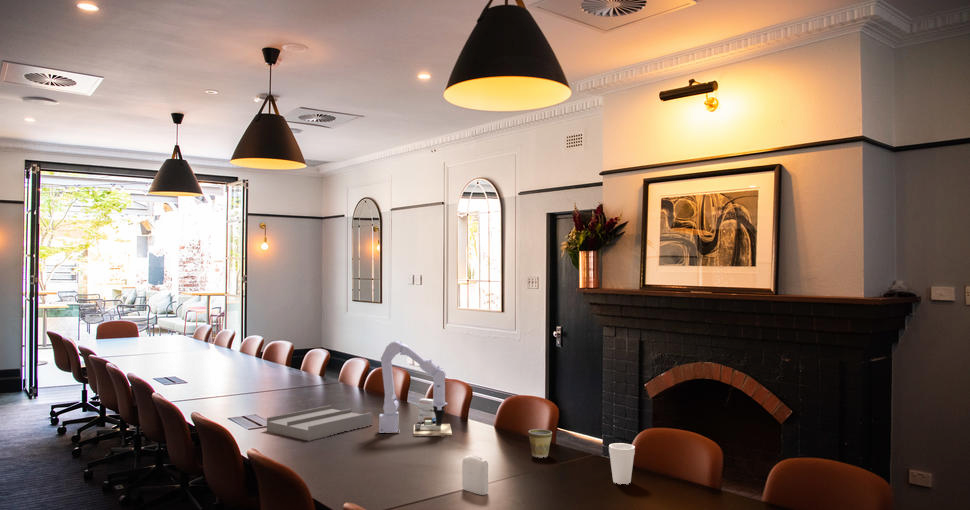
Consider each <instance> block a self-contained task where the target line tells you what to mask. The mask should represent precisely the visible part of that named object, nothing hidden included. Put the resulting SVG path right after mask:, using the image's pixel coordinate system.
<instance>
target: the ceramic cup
mask: <svg viewBox="0 0 970 510" xmlns="http://www.w3.org/2000/svg"><path fill="white" fill-rule="evenodd" d="M552 436H553V432H552V431H551V430H549V429H543V428H541V429H540V428H536V429H535V428H534V429H530V430H528V437H529V443H530V448H531V449H530V450H531V457H534V458H537V457H538V459H541V458H542V459H543V457H544V458H547V457H548V455H549V452H550V451H549V450H550V445H551V441H552Z"/></svg>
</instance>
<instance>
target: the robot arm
mask: <svg viewBox="0 0 970 510" xmlns="http://www.w3.org/2000/svg"><path fill="white" fill-rule="evenodd" d="M398 354H399V355H401V356H407V357H409V358H410V359H411V360H413V361H414V362H415V363H417V364H418V365H419V367H420V368H419V369H421V370H422V371H424V372H425V373H426V374H427V375H429V376H430V377H432V379H433V385H432V386H433V387H432V388H433V390H432V391H433V392H432V395H433V397H432V399H433V405H434V406H433V408H434V409H433V411H434V413H435V416H436V422H437V424H441V423H442V422H443V417H444V414H445V412H446V409H444V408H445V406H447V405H448V402H446V379H445V378H446V371H445V370H444V368H441V367H440V366H439V365H437V364H435V363H434V362H433V360H432V359H429V358H423V357H422V356H421V355H420V354H418V352H416V351H415V350H413V349H412V348H411V347H410V346H409V345H407V344H406V343H403V342H402V340H399V339H395V340H393V341H391V342H390V343H389V344H388V345H386V346H385V349H384V351H383V353H382V354H381V355H382V356H381V358H380V361H381V362H380V363H381V364H380V365H381V369H382V370H381V372H382V380H383V389H384V403H383V406H382V407H383V408H382V410H383V413H380V414H379V416H378V417H379V418H378V419H379V421H378V434H379V433H384V432H386V433H391V432H397V431H398V429H399V427H400V426H399V420H400V419H399V418H400V415H399V413H400V412H399V410H398V409H399V407H400V402H399V400H398V398H397V394H396V389H395V381H394V371H393V363H392V361H393V359H394V358H395V357H396V356H397V355H398ZM436 422H435V423H436ZM442 424H443V423H442Z"/></svg>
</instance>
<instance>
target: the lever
mask: <svg viewBox="0 0 970 510" xmlns="http://www.w3.org/2000/svg"><path fill="white" fill-rule="evenodd" d="M421 424H422V423H415V430H417V431H419V430H441V426H442V424H443V423H441V424H437V422H435V424H436V425H421Z"/></svg>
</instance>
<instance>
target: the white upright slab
mask: <svg viewBox="0 0 970 510" xmlns="http://www.w3.org/2000/svg"><path fill="white" fill-rule="evenodd" d="M461 471H462V473H461V475H462V476H461V477H462V479H461V483H462V484H461V486H462V490H464V491H467V492H470V493H472V494H476V495H480V496H486V495H487V494H488V493H489V462H488V460H486V459H485V458H483V457H481V456H479V455H475V454H470V455H466V456H464V457H463V459H462V470H461Z"/></svg>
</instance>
